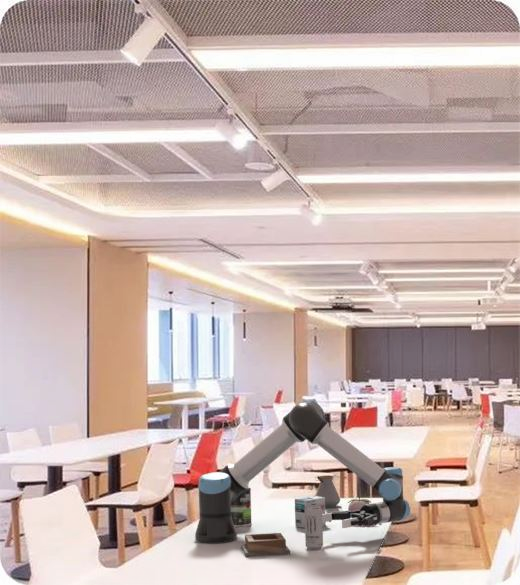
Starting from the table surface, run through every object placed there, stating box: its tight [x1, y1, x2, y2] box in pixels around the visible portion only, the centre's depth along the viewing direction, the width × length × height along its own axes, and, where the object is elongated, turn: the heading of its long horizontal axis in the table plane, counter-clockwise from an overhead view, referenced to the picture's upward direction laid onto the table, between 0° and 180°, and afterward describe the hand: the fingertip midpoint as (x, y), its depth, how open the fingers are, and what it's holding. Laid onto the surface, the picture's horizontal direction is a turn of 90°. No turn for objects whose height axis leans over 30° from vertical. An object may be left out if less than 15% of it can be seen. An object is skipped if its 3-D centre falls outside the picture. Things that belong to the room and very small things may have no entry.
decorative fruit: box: [347, 496, 372, 511], centre depth 388 cm, size 9×8×10 cm
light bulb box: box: [294, 495, 327, 529], centre depth 384 cm, size 11×7×11 cm, turn 131°
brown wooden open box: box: [240, 532, 291, 558], centre depth 338 cm, size 15×15×5 cm
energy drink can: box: [304, 503, 324, 551], centre depth 341 cm, size 6×6×15 cm
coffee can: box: [231, 487, 252, 528], centre depth 391 cm, size 10×10×14 cm
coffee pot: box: [314, 475, 341, 509], centre depth 424 cm, size 21×12×15 cm, turn 162°
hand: (329, 521), depth 344 cm, fingers open, 13 cm apart
